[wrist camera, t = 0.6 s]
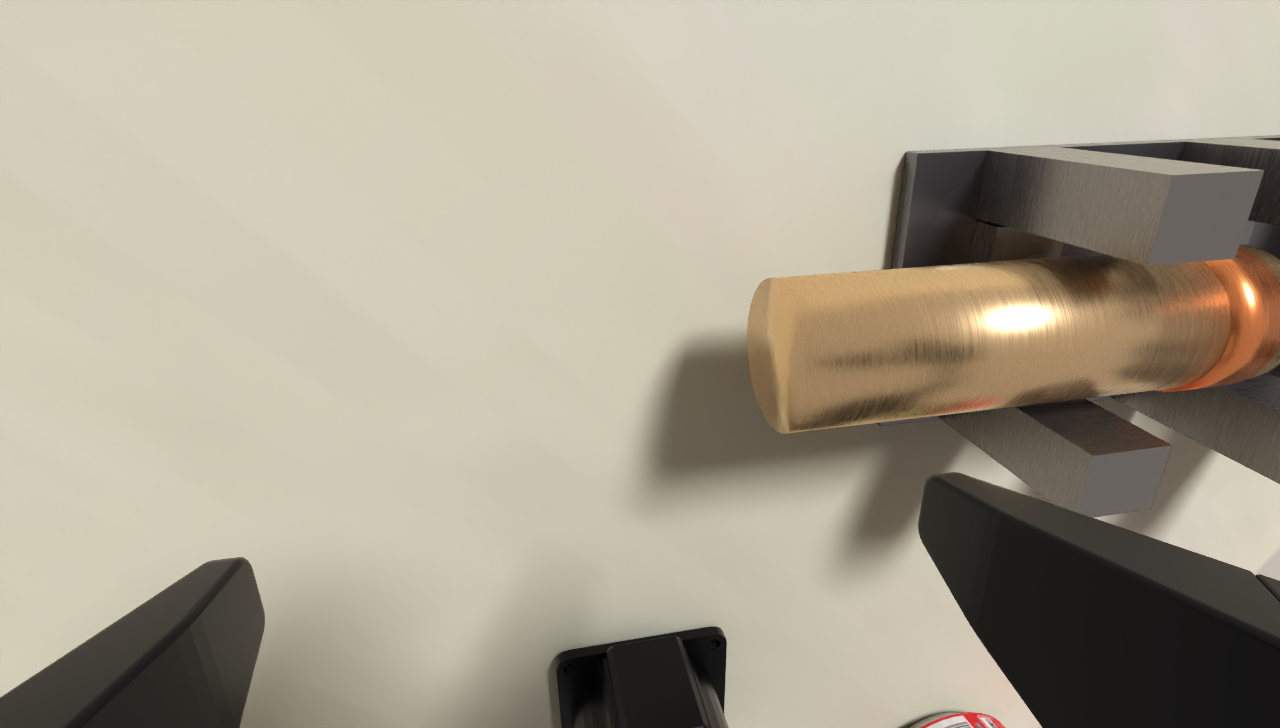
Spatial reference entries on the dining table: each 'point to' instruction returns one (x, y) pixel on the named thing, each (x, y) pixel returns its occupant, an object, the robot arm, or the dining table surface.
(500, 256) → the dining table surface
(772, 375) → the tube
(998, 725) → the soda can
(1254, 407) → the grey holder rack
